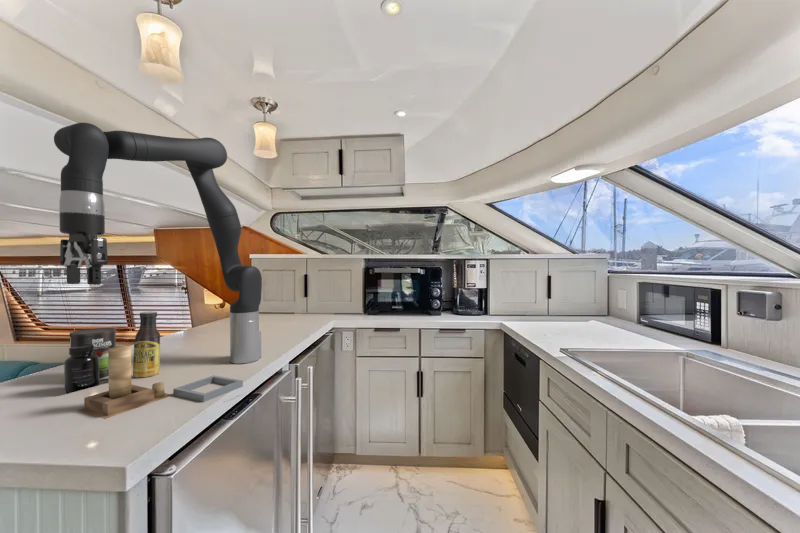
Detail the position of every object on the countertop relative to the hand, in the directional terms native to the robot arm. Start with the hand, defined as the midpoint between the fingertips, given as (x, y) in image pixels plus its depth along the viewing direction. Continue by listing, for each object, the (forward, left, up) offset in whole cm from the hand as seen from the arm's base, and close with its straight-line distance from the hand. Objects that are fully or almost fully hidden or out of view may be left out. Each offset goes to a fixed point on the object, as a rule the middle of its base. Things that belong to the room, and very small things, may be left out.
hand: (83, 284), depth 77 cm
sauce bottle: (-19, -10, -30) cm, 36 cm away
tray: (-17, +18, -29) cm, 39 cm away
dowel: (-3, +7, -28) cm, 29 cm away
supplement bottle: (-7, -17, -30) cm, 35 cm away
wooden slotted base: (-5, +7, -29) cm, 30 cm away
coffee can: (-14, -27, -30) cm, 43 cm away
